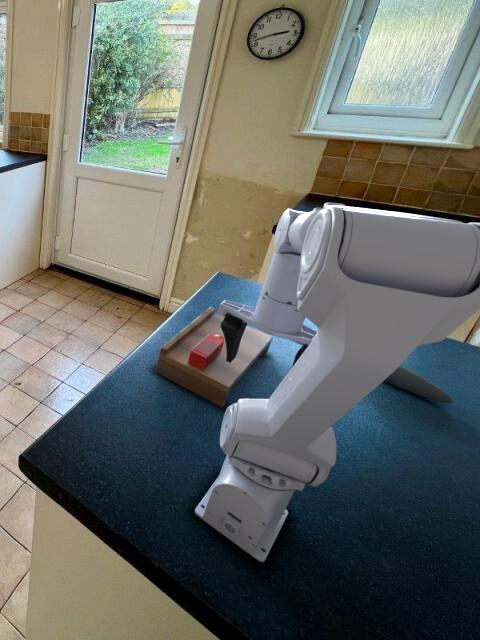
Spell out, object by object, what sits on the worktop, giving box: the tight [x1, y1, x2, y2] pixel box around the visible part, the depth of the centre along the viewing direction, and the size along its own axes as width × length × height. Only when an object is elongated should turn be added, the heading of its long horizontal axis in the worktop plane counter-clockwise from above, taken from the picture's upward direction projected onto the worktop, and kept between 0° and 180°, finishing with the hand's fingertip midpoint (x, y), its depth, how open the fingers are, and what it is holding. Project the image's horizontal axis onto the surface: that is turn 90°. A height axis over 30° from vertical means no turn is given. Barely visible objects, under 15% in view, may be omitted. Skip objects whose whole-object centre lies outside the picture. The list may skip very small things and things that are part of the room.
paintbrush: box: [384, 365, 454, 404], centre depth 77 cm, size 20×5×5 cm, turn 38°
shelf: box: [154, 306, 274, 408], centre depth 80 cm, size 22×12×6 cm, turn 130°
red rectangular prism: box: [188, 334, 225, 370], centre depth 76 cm, size 10×3×3 cm, turn 130°
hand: (257, 371), depth 64 cm, fingers open, 7 cm apart
